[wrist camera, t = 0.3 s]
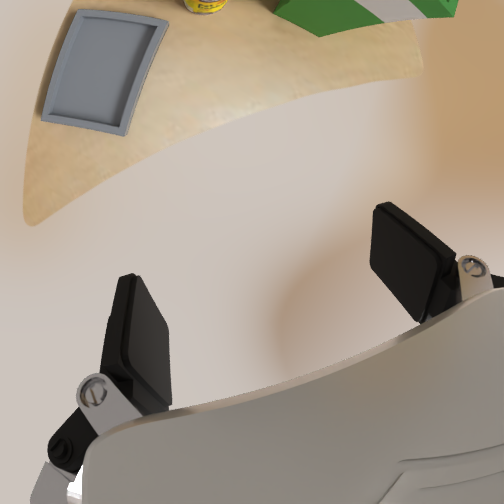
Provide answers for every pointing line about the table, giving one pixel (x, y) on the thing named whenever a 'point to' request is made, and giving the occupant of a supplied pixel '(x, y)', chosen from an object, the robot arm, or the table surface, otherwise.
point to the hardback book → (358, 13)
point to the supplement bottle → (204, 6)
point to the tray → (102, 70)
